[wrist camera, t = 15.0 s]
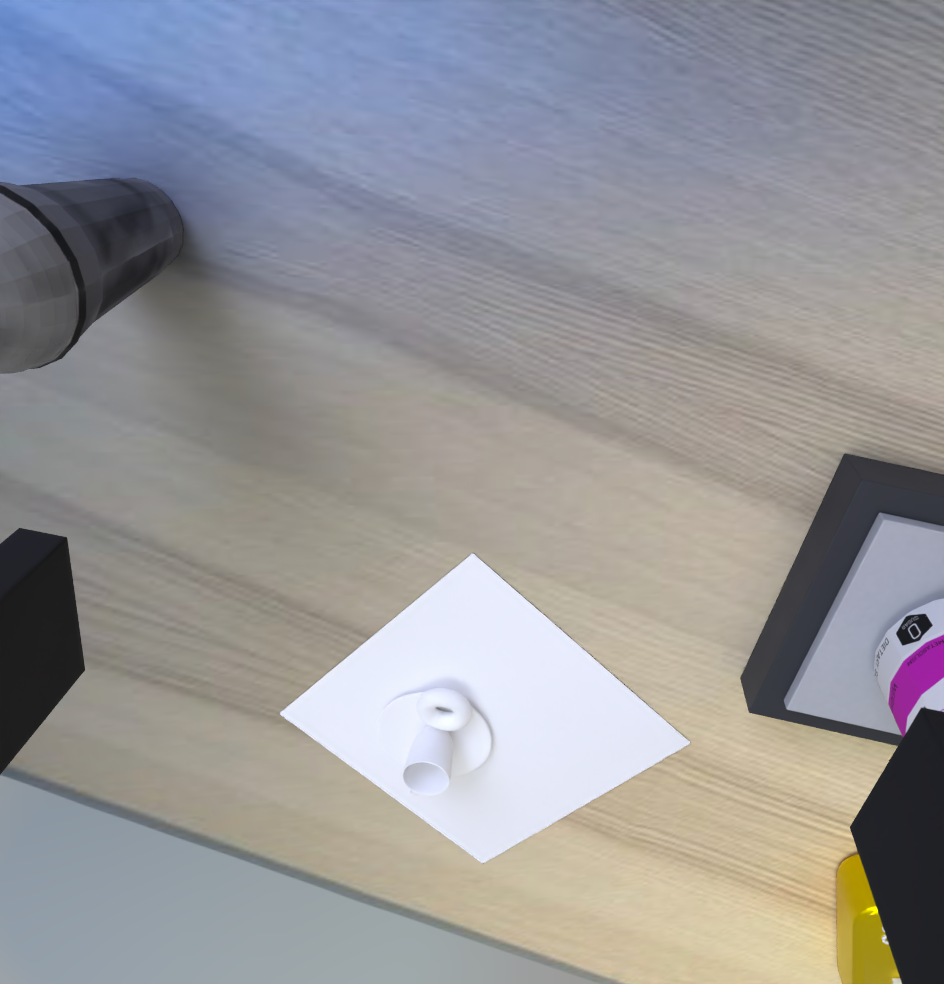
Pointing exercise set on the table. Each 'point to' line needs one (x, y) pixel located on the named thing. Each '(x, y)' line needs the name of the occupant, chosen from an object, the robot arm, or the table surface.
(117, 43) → the table surface
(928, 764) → the robot arm
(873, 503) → the scale
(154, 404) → the table surface
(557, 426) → the table surface
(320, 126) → the table surface
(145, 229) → the beverage cup
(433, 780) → the teacup and saucer
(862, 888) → the element tile
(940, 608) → the white drink can
